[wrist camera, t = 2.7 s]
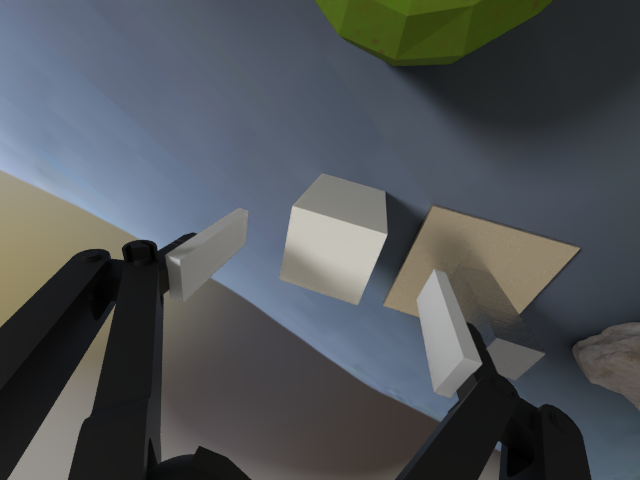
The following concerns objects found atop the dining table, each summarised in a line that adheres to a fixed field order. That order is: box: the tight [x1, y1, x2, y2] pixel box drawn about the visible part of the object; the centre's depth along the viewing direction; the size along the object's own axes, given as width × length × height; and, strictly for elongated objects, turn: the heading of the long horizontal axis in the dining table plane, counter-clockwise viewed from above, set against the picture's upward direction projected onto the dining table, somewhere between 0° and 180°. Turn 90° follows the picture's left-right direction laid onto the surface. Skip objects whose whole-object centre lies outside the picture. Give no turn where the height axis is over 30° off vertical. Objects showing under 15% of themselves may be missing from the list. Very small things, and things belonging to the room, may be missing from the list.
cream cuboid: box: [279, 173, 388, 305], centre depth 19 cm, size 6×6×9 cm
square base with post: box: [383, 204, 580, 380], centre depth 20 cm, size 12×12×9 cm
